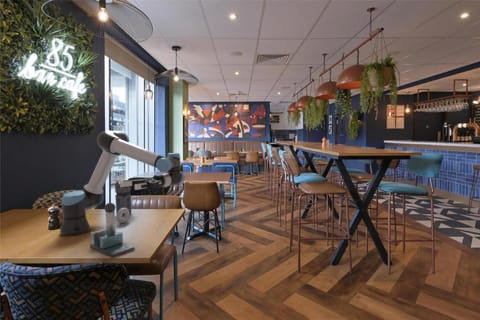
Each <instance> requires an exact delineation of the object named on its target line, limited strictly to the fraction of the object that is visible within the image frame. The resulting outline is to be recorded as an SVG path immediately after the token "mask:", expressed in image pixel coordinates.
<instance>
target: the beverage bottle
mask: <svg viewBox="0 0 480 320" xmlns="http://www.w3.org/2000/svg"><path fill="white" fill-rule="evenodd" d="M126 181H130V180H129V179H126V180H125V181H124V182H126ZM131 190H132V186H127V187H120V181H116V182H115V185H114V192H115V193H116V194H115V207H116V208H115V215H117V213H118V211H119V210H120V209H121V208H127V209H128V210H129V213H130V215H131V214H132V195H131ZM122 217H124V213H123V215H122Z"/></svg>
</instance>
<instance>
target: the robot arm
mask: <svg viewBox="0 0 480 320" xmlns="http://www.w3.org/2000/svg"><path fill="white" fill-rule="evenodd" d="M96 143H97V145H98V147H99V148H100V149H101V150H102V153H101V155H100V157H99V158H98V162H97V164H96V165H95V168H94V170H93V173H92V175H91V177H90V179H89V182H88V183H87V184H85V185H83V188H82V190H74V191H68V192H66V193H64V194H63V195H62V196H61V209H62V210H61V211H62V212H61V213H62V223H61V226H60V230H59V234H60V236H64V237H70V236H71V237H72V236H79V235H83V234H84V233H88V232H90V230H91V225H90V224H89V222H88V221H89V220H88V218H87V213H86V212H87V210H90V209H93V208H96V207H98V206H99V205H101V204H102V203H103V201H104V192H105V191H104V189H103V188H104V185H105V184H106V182H107V179H108V177H109V174H110V173H111V170H112V168H113V166H114V164H115V162H116V159H117V157H120V156H121V155H122V156H124V157H127V158H130V159H133V160H135V161H138V162H140V163H143V164H146V165H149V166H150V167H153V168H156V169H157V170H158V171H159V172H161V174H154V175H152V178H143V179H140V178H139V179H130V180H129V181H127V180H125V181H126V182H125V181H119V184H120V187H127V186H131V187H133V186H134V191H137V190H143V189H153V188H156V189H159V188H163V187H164V188H167V187H169V186H170V187H171V186H175V185H176V186H177V185H180V184H183V183H184V181H185V179H186V178H185V175H184V172H183V171H181V155H180V153H178V152H172V153H171V152H168V153H167V156H164V155H161V154H159V153H156V152H153V151H151V150H148V149H145V148H143V147H140V146H138V145H135V144H133V143H131V142H130V139H129V136H128V134H127V133H125V132H124V131H122V130H121V131H120V130H102V131H101V132H100V133H99V134H98V135H97V137H96ZM165 172H167V173H165Z"/></svg>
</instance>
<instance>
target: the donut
mask: <svg viewBox="0 0 480 320" xmlns="http://www.w3.org/2000/svg"><path fill="white" fill-rule="evenodd" d="M123 213H124V216H122V215H123ZM130 215H131V214H130V213H129V210H128V209H127V208H121V209H120V210H119V211H118V213H117V214H116V221H117V222H118V223H119V224H125V223H127V221H128V220H129V219H130Z"/></svg>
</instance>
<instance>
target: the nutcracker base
mask: <svg viewBox="0 0 480 320" xmlns="http://www.w3.org/2000/svg"><path fill="white" fill-rule="evenodd" d="M106 234H107V229H106V228H102V229H98V230H94V231H90V239H91V240H90V241H91V242H90V243H89V247H90V248H92V249H93V250H96V251H97V252H100V253H102V254H104V255H106V256H108V257H110V258H112V259H113V258H116V257H119V256H121V255H125V254H127V253H130V252H132V251H135V245H134V246H133V245H132V244H129V243H125V242H124V241H123V242H122V243H119V244H116V245H113V246H110V247H107V248H104V249H103V248H100V237H103V236H104V235H106Z"/></svg>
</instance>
